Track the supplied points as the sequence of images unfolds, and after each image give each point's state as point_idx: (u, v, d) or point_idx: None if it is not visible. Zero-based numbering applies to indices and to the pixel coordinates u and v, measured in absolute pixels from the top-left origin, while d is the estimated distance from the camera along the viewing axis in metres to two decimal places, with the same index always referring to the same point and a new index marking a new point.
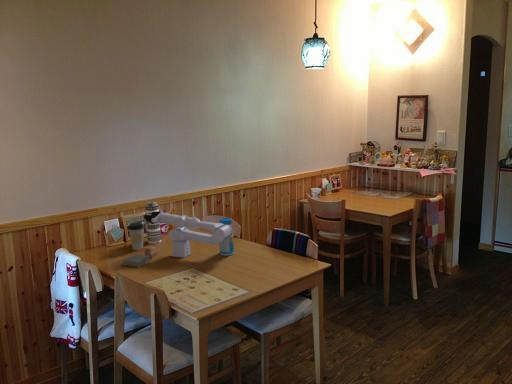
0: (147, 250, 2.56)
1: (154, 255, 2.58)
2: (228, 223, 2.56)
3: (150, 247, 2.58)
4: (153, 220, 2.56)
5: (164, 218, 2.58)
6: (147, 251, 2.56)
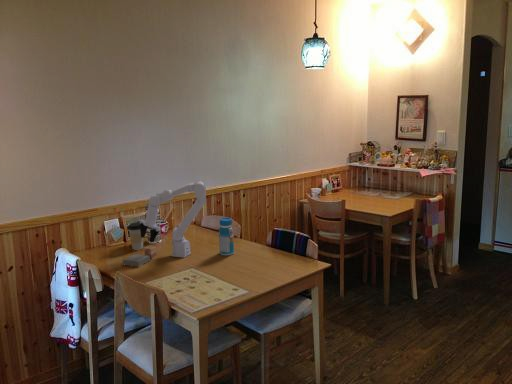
0: (147, 250, 2.56)
1: (154, 255, 2.58)
2: (228, 223, 2.55)
3: (150, 247, 2.58)
4: (158, 229, 2.53)
5: (153, 219, 2.54)
6: (147, 251, 2.56)
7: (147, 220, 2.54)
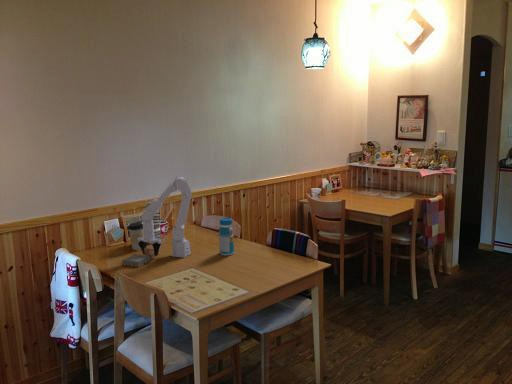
0: (147, 250, 2.56)
1: (154, 255, 2.58)
2: (228, 223, 2.56)
3: (150, 247, 2.58)
4: (160, 241, 2.54)
5: (152, 233, 2.55)
6: (147, 251, 2.56)
7: (146, 236, 2.54)
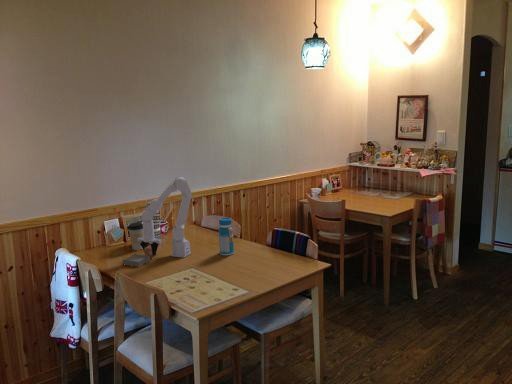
0: (147, 250, 2.56)
1: None
2: (228, 223, 2.56)
3: (150, 247, 2.58)
4: (160, 241, 2.54)
5: (152, 233, 2.55)
6: (147, 251, 2.56)
7: (146, 236, 2.54)
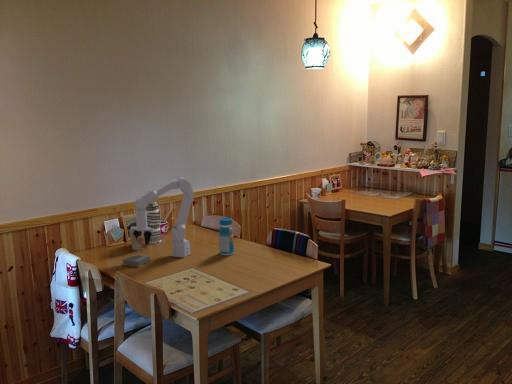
0: (139, 240, 2.52)
1: None
2: (228, 223, 2.56)
3: (143, 236, 2.53)
4: (153, 230, 2.49)
5: (145, 222, 2.50)
6: (140, 240, 2.52)
7: (139, 225, 2.49)
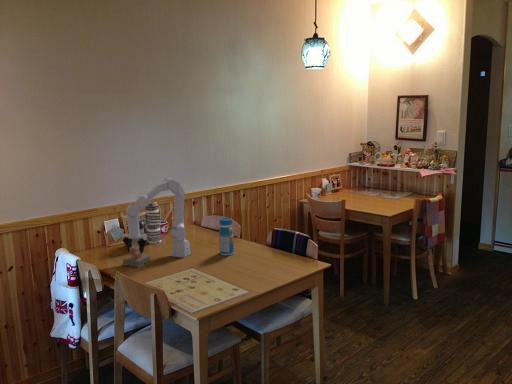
0: (132, 250, 2.48)
1: (140, 255, 2.50)
2: (228, 223, 2.56)
3: (136, 247, 2.49)
4: (145, 237, 2.45)
5: (137, 229, 2.46)
6: (133, 251, 2.48)
7: (131, 232, 2.45)
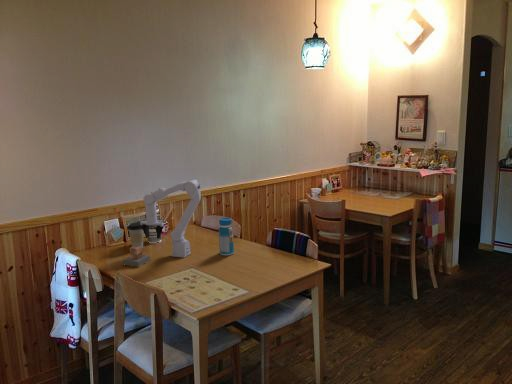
0: (132, 250, 2.48)
1: (140, 255, 2.50)
2: (228, 223, 2.55)
3: (136, 247, 2.49)
4: (162, 224, 2.58)
5: (154, 216, 2.58)
6: (133, 251, 2.48)
7: (149, 219, 2.57)
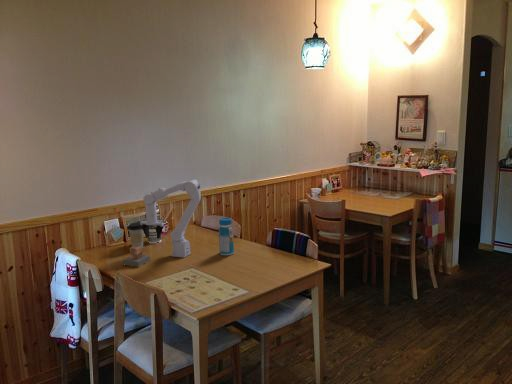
0: (132, 250, 2.48)
1: (140, 255, 2.50)
2: (228, 223, 2.56)
3: (136, 247, 2.49)
4: (162, 224, 2.58)
5: (154, 216, 2.58)
6: (133, 251, 2.48)
7: (149, 219, 2.57)
